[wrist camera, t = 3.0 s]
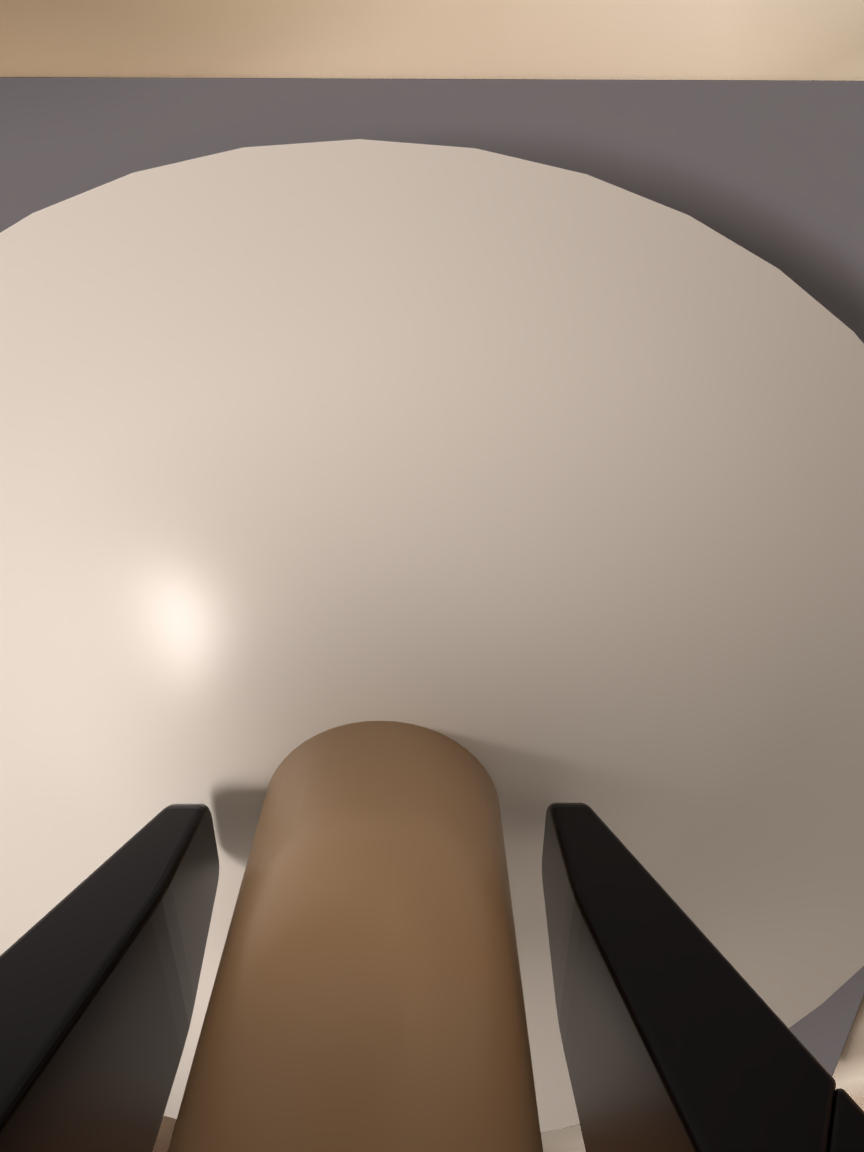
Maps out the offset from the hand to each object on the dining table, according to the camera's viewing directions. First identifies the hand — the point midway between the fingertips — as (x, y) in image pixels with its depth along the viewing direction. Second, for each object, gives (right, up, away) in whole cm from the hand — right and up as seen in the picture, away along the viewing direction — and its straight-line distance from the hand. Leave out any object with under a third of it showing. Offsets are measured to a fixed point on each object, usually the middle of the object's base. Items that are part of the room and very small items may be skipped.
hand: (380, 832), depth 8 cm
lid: (0, +1, +1) cm, 1 cm away
